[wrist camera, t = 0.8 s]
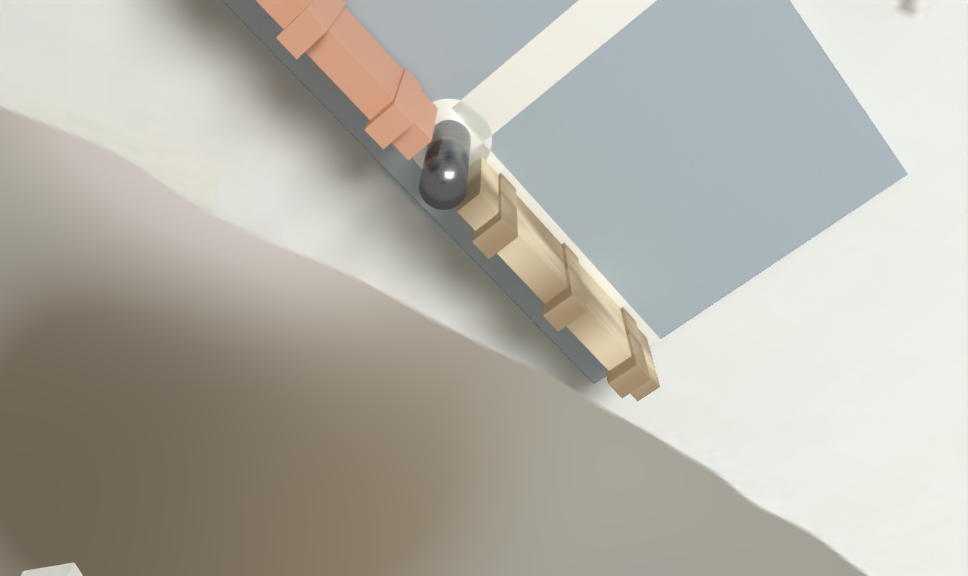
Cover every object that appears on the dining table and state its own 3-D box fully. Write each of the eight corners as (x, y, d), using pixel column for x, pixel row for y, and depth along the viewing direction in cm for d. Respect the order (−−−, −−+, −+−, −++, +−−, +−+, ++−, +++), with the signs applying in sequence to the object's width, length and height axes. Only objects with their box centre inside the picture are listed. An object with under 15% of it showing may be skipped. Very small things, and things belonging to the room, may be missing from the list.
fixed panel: (458, 175, 39) (453, 222, 35) (484, 154, 38) (482, 199, 34) (624, 353, 43) (637, 413, 39) (649, 336, 43) (665, 395, 39)
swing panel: (440, 105, 37) (433, 145, 33) (414, 128, 38) (403, 170, 34) (222, -135, 33) (181, -124, 29) (195, -107, 34) (151, -92, 29)
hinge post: (420, 135, 39) (409, 185, 34) (451, 108, 38) (444, 155, 33) (448, 165, 39) (441, 218, 34) (479, 139, 39) (477, 190, 34)
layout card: (149, -79, 35) (146, -78, 34) (483, -447, 29) (484, -450, 29) (593, 380, 45) (593, 384, 44) (905, 171, 39) (908, 174, 39)
